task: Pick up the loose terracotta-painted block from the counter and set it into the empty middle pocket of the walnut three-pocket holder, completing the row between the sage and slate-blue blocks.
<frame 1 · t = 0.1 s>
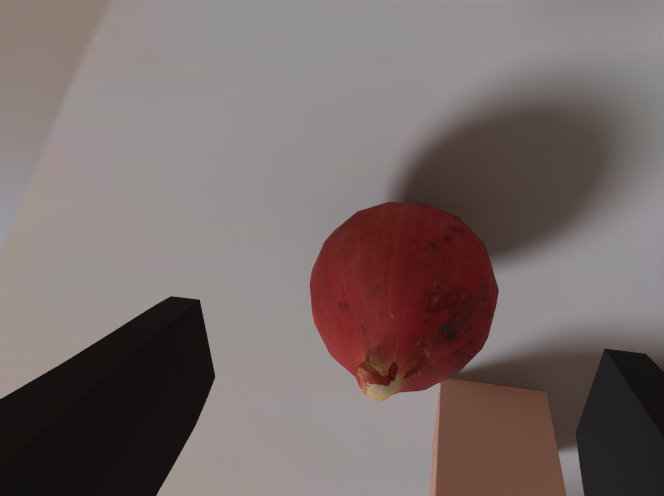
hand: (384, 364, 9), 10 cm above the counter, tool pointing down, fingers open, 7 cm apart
terracotta block: (485, 417, 23), on the counter
onion: (411, 233, 19), on the counter
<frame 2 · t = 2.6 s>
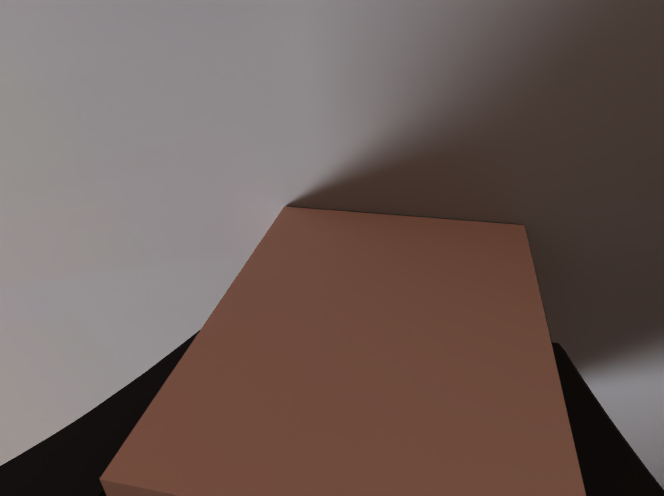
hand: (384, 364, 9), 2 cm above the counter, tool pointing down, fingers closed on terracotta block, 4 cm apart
terracotta block: (393, 310, 10), on the counter, touching gripper
when the fingers open (4 cm above the counter, at t = 5.7 s): terracotta block stays where it is, resting on walnut holder.
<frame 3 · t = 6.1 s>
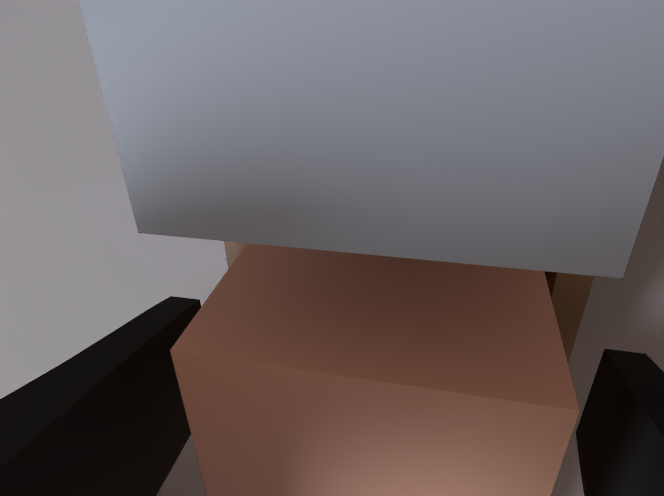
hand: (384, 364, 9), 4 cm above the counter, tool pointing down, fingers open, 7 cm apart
terracotta block: (402, 260, 12), point 1 cm above the counter, touching walnut holder
walnut holder: (404, 254, 12), on the counter
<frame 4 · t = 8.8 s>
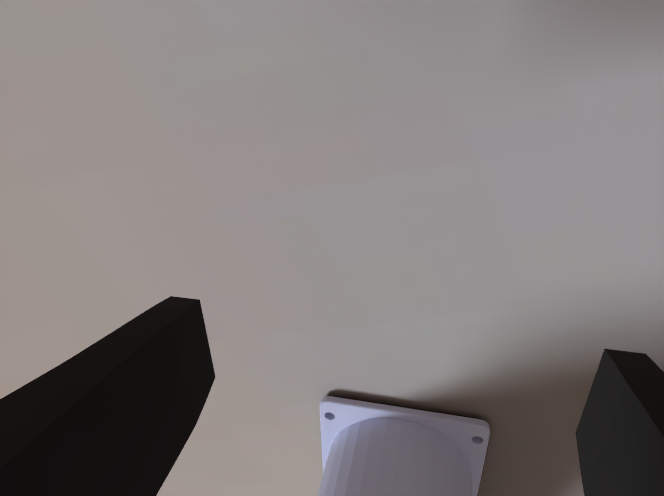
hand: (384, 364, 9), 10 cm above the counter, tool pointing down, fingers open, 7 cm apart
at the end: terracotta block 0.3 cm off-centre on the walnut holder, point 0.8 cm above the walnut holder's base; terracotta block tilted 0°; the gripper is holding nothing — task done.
